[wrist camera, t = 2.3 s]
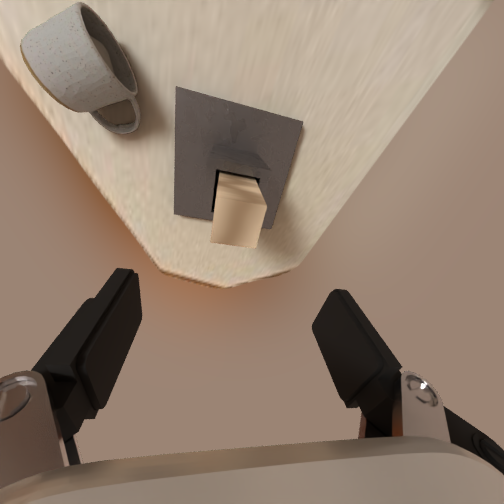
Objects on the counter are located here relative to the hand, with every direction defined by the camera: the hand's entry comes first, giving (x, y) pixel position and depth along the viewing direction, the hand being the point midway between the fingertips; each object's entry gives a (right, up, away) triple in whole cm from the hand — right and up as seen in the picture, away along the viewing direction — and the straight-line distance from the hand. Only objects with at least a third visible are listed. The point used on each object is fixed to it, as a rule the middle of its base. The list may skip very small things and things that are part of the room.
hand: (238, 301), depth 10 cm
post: (-2, +15, +22) cm, 27 cm away
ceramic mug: (-18, +25, +17) cm, 35 cm away
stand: (-3, +16, +24) cm, 29 cm away
